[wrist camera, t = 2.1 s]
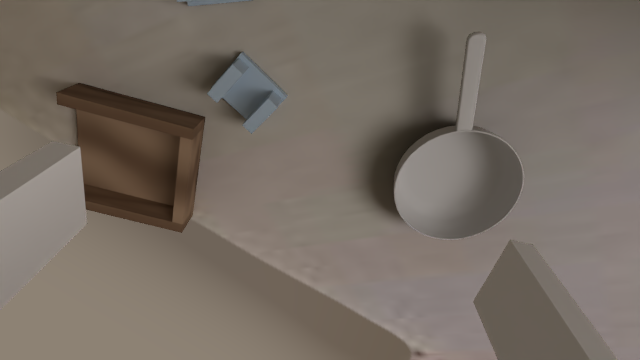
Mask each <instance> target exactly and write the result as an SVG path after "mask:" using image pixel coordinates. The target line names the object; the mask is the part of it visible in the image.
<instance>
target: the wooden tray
mask: <svg viewBox="0 0 640 360" xmlns="http://www.w3.org/2000/svg"><path fill="white" fill-rule="evenodd" d="M56 94H57V104H58V105H62V106H66V107H70V108H73V109H76V112H77V133H78V146H79V147H80V150H81V161H82V172H83V183H84V194H85V205H86V210H91V211H95V212H99V213H103V214H107V215H111V216H115V217H120V218H123V219H128V220H132V221H136V222H140V223H144V224H148V225H153V226H157V227H161V228H165V229H169V230H173V231H178V232H181V233H182V231H183V230H184V228H185V227H186V225H187V223H188V222H189V220H190V218H191V217H192V215H193V208H194V200H195V192H196V185H197V177H198V169H199V161H200V154H201V146H202V138H203V130H204V122H205V117H203V116H199V115H196V114H192V113H188V112H185V111H181V110H177V109H174V108H170V107H166V106H163V105H159V104H155V103H152V102H148V101H144V100H140V99H137V98H133V97H129V96H126V95H122V94H118V93H115V92H111V91H107V90H104V89H100V88H96V87H93V86H89V85H85V84H81V83H78V84H76V85H73V86H71V87H68V88H66V89H64V90H61V91H59V92H56Z"/></svg>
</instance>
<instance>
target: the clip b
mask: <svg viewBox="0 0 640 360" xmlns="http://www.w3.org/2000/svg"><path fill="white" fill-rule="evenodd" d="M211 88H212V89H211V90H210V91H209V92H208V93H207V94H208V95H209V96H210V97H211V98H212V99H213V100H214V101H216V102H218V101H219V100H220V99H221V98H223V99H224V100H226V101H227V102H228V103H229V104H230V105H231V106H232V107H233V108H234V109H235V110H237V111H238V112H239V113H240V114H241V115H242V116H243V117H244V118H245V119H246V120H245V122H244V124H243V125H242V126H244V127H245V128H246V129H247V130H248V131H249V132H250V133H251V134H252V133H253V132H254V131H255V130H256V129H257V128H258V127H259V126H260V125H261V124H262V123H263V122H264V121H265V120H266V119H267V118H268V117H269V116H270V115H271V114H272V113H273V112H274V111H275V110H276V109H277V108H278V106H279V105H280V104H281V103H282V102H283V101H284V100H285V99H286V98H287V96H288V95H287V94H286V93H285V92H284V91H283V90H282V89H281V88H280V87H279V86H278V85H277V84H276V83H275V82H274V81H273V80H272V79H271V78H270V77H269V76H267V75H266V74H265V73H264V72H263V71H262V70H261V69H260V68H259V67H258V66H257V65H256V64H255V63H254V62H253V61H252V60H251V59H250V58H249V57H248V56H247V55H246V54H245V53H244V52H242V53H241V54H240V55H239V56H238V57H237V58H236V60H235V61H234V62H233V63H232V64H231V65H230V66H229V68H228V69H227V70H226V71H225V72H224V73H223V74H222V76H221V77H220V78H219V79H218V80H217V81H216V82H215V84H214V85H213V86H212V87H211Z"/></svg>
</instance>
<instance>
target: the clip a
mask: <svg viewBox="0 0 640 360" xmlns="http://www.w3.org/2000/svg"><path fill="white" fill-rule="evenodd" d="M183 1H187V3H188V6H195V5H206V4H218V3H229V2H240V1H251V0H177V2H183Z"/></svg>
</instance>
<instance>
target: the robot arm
mask: <svg viewBox="0 0 640 360" xmlns="http://www.w3.org/2000/svg"><path fill="white" fill-rule="evenodd" d="M86 218H87V217H86V205H85V194H84V183H83V172H82V161H81V150H80V147H79V146H74V145H69V144H65V143H60V142H56V141H52V142H50V143H48V144H46V145H45V146H43V147H41V148H40V149H38V150H36V151H34V152H33V153H31V154H29V155H27V156H26V157H24V158H23V159H20V160H19V161H17V162H15V163H14V164H12V165H10V166H9V167H7V168H5V169H3V170H1V171H0V310H1V309H2V308H3V307H4V306H5V305H6V304H7V303H8V302H9V301H10V300H11V299H12V298H13V297H14V296H15V295H16V294H17V293H18V292H19V291H20V290H21V289H22V288H23V287H24V286H25V285H26V284H27V283H28V282H29V281H30V280H31V279H32V278H33V277H34V276H35V275H36V274H37V273H38V272H39V271H40V270H41V269H42V268H43V267H44V266H45V265H46V264H47V263H48V262H49V261H50V260H51V259H52V258H53V257H54V256H55V255H56V254H57V253H58V252H59V251H60V250H61V249H62V248H63V247H64V246H65V245H66V244H67V243H68V242H69V241H70V240H71V239H72V238H73V237H74V236H75V235H76V234H77V233H78V232H79V231H80V230H81V229H82V228H83V227H84V226H85V225H86V224H87V219H86ZM473 302H474V304H475V307H476V309H477V311H478V314H479V316H480V319H481V321H482V323H483V326H484V328H485V330H486V333H487V335H488V337H489V340H490V342H491V344H492V347H493V349H494V351H495V354H496V356H497V359H498V360H618V359H617V358H616V356H615V355H614V354H613V352H612V351H611V350H610V348H609V347H608V346H607V344H606V343H605V341H604V340H603V339H602V337H601V336H600V335H599V333H598V332H597V331H596V329H595V328H594V327H593V325H592V324H591V322H590V321H589V320H588V318H587V317H586V316H585V314H584V313H583V312H582V310H581V309H580V308H579V306H578V305H577V304H576V302H575V301H574V299H573V298H572V297H571V295H570V294H569V293H568V291H567V290H566V289H565V287H564V286H563V285H562V283H561V282H560V281H559V279H558V278H557V276H556V275H555V274H554V272H553V271H552V270H551V268H550V267H549V266H548V264H547V263H546V262H545V260H544V259H543V257H542V256H541V255H540V253H539V252H538V251H537V249H536V248H535V247H534V245H532V244H528V243H523V242H518V241H514V240H510V241H509V243H508V244H507V246H506V248H505V249H504V251H503V253H502V254H501V256H500V258H499V259H498V261H497V263H496V264H495V266H494V268H493V269H492V271H491V273H490V274H489V276H488V278H487V279H486V281H485V283H484V284H483V286H482V288H481V289H480V291H479V293H478V294H477V296H476V298H475V299H474V301H473Z"/></svg>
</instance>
